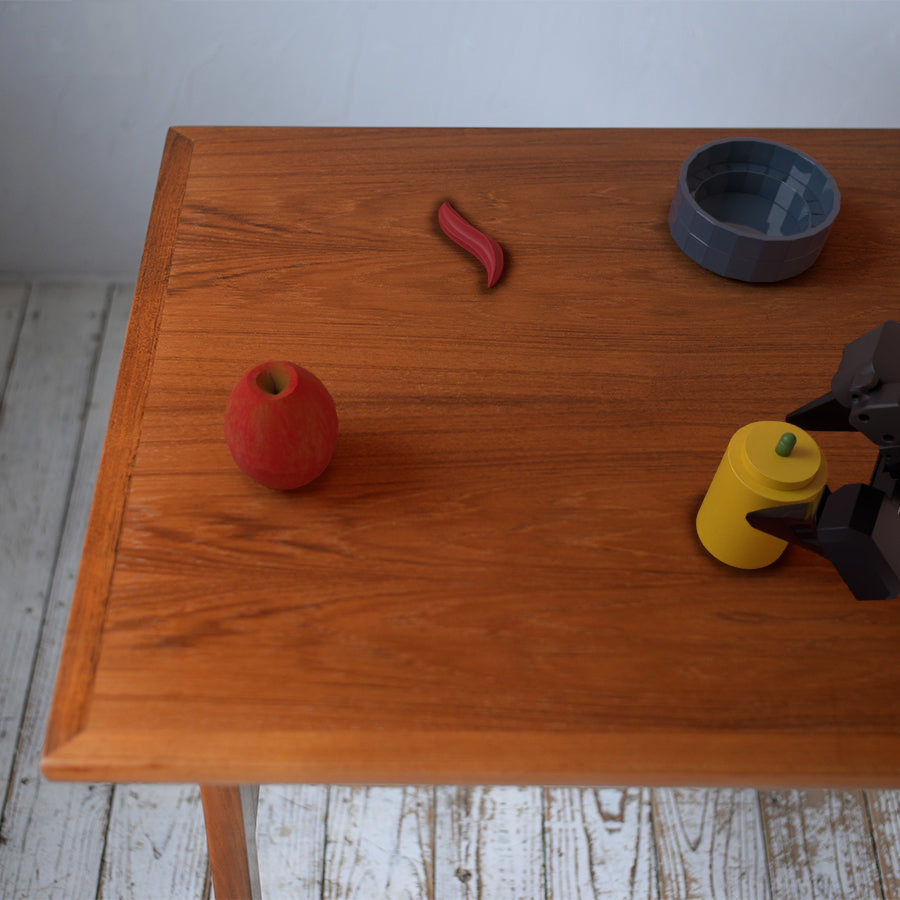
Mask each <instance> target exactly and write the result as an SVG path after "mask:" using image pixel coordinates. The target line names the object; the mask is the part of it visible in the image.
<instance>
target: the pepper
mask: <svg viewBox="0 0 900 900" xmlns="http://www.w3.org/2000/svg"><path fill="white" fill-rule="evenodd" d="M825 455H826V454H825V453H824V451H823V450H822V448H821V446H820V445H819V444H818V443H817V442H816V440H815V439H814V438H813V437H812V436H811V435H810V434H809V433H808V432H807V431H805V430H802V429H800V428H799V427H797V426H795V425H792V424H789V423H786V421H779V420H778V421H777V420H760V421H755V422H751V423H749V424H746V425H744V426H743V427H741V428H740V429H738V430H737V431H735V433H734V434H733V435H732V437H731V438H730V441H729V443H728V445H727V447H726V449H725V452H724V454H723V456H722V459H721V461H720V463H719V465H718V467H717V469H716V472H715V473H714V477H713V478H712V481H711V482H710V485H709V487H708V490H707V493H706V494H705V496H704V499H703V501H702V502H701V505H700V507H699V510H698V512H697V515H696V520H695V524H696V527H695V528H696V532H697V535H698V538H699V540H700V542H701V544H702V545H703V546H704V548H705V549H706V551H708V552H709V553H710V554H711V555H712V556H713V557H714V558H716V559H717V560H718V561H720V562H722V563H724V564H726V565H728V566H731V567H734V568H737V569H741V570H742V569H743V570H756V569H762V568H766V567H767V566H769V565H772V564H773V563H774V562H776V561H777V560H778V559H779V558H780V557H781V555H782V554H783V552H784V551H785V550H786V548H787V546H788V544H790V543H789V542H787V541H784V540H782V539H779V538H777V537H774V536H772V535H769V534H767V533H764V532H762V531H759V530H757V529H754V528H752V527H751V526H750V525H749V523H748V522H747V520H746V519H745V517H746V514H747V513H748V512H752V511H756V510H760V509H764V508H770V507H777V506H785V505H792V504H799V503H806V502H811V501H813V500H814V499H815V498H816V496H817V495H818V493H819V492H820V490H821V489H822V487H823V486H824V485H826V484H827V481H828V476H829V466H828V465H829V464H828V461H827V457H826V456H825Z"/></svg>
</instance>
